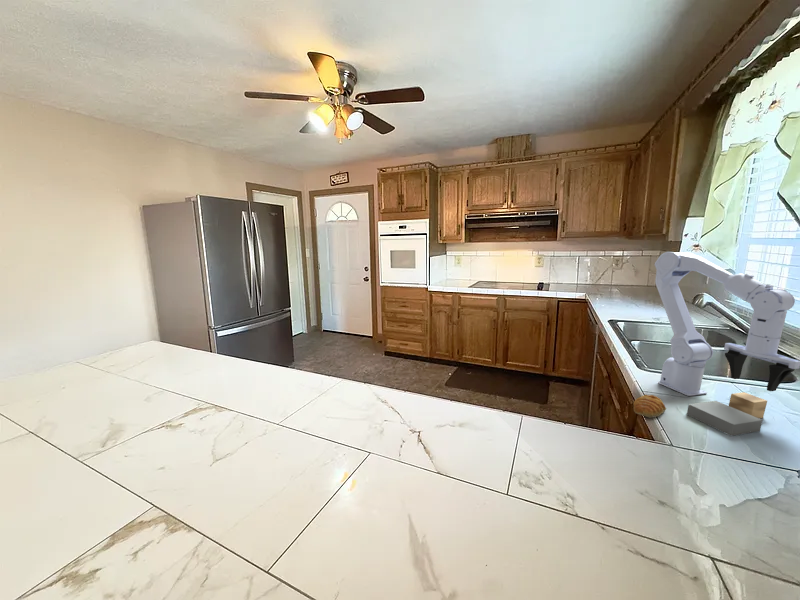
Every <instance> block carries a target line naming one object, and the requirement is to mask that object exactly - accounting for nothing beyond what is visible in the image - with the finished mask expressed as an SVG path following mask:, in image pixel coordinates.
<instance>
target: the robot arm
mask: <svg viewBox="0 0 800 600" xmlns="http://www.w3.org/2000/svg"><path fill="white" fill-rule="evenodd" d="M654 267H655V270H656V273H655V280H654V281H655V285H656V289H657V291H658V294H659V297H660V300H661V302H662V305H663V308H664V311H665V313H666V315H667V319H668V321H669V325H670V327H671V330H672V332H673V336H672V337H671V339H670V340H669V342H670V345H671V347H670V354H671V357H668V358H667V359H666V360H665V361H664V362H663V364H662V369H661V375H660V379H659V380H660V381H657V382H658V384H660V385H663V386H665V387H666V388H669V389H672V390H673V391H675V392H678V393H680V394H683V395H685V396H687V397H691V396H699V395H707V394H708V392H707V391H705V390H703V389H701V387H702V381H703V377H704V373H705V368H706V363H707V361H709V360H711V359H712V358H713V355H714V350H713V348H712V346H711V345H710V344H709V343H708V342H707V341H706V339H705V336H704V335H702V334H701V333H700V332H698V331H697V329H696V327H695V324H694V322H693V319H692V317H691V314H690V312H689V309H688V306H687V303H686V302H685V301H686V300H685V299H684V296H683V293H682V290H681V289H680V285H679V283H680V282H681V280H682V279H683V278H684V277H685V276H686V275H689V273H690V272H692V271H693V272H697V273H699V274H701V275H704V276H705V277H707V278H709V279H711V280H713V281H716V282H718V283H720V284H722V285H723V289H724V291H725V292H728V293H730V294H732V295H733V296H735V297H736V298H739V299H741V300H743V301H745V302H746V303H749V305H750V306H751V308H752V311H753V314H752V316H751V320H750V324H749V328H748V334H747V337H746V342H745V345H741V344H737V343H732V342H725V343H724V347H723V350H724V351H727V352H725V353H724V356H725V358H726V359H727V363H728V365H729V369H730V377H731V379H733V380H737V379H740V377H741V375H742V370H743V366H744V364H745V362H746V360H747V358H748V357H751V358H755V359H758V360H763V361H765V362H769V363H773V364H769V366H768V367H769V376H768V377H769V378H768V381H767V385H766V391H768V392H776V390H777V389H778V387H779V386H780V384H781V383H782V382H783V381H784V380H785V379H786V378H787V377H788V376H789V375H790V374H792V373H793V372H794V371H796V369H797V370H799V369H800V360H798V359H794V358H791V357H788V356H785V355H782V354H780V353H779V354H778V350H779V345H780V342H781V337H782V333H783V330H784V325H785V322H786V316H787V313H788V311H789V310H792V308H793V307H794V306H795V303H796V300H795V297H794V296H793V294H791V293H790V292H788V291H787V290H786V289H782V288H778V289H774V285H773V284H768V283H767V284H766V283H763V282H761V281H760V280H757V279H755V278H754V277H755V276H754V275H753V274H751V273H746V274H744V273H741V272H740V273H735V274H733V273H732V272H731V271H728V270H726V269H724V268H723V267H721V266H719V265H717V264H715V263H713V262H711V261H709V260H707V259H706V258H704V257H703V256H700V255H697V254H694V253H693V252H689V251H684V252H683V251H682V252H677V251H676V252H674V251H665V252H663V253H661V254H660V255H659V256H658V258H657V259H656V261H655V262H654Z"/></svg>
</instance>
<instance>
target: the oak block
mask: <svg viewBox="0 0 800 600" xmlns="http://www.w3.org/2000/svg"><path fill="white" fill-rule="evenodd" d="M767 403H768V400H767V399H763V398H761V397H759V396H756V395H753V394H750V393H747V392H743V391H742V392H734V393H731V394H730V398H729V402H728V406H730V407H732V408H735V409H737V410H740V411H742V412H744V413H747V414H749V415H752V416H754V417H757V418H759V419H763V418H764V416H765V411H766V408H767Z"/></svg>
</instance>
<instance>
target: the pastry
mask: <svg viewBox="0 0 800 600" xmlns="http://www.w3.org/2000/svg"><path fill="white" fill-rule="evenodd" d="M666 410H667V407H666V406H665V404H664V402H663V400H662V399H661V398H659V397H658V396H655V395H652V394H650V395H649V394H644V395H641V396H639V397H637V398H635V399H634V401H633V413H635V414H637V415H640V416H643V417H646V418H649V419H650V418H658V417H660V416H662V415H663V413H664V412H665V411H666Z"/></svg>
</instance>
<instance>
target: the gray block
mask: <svg viewBox="0 0 800 600" xmlns="http://www.w3.org/2000/svg"><path fill="white" fill-rule="evenodd" d="M686 411H687V412H686V415H687V416H689V417H691V418H693V419H695V420H698V421H699V422H702V423H703V424H705V425H708V426H710V427H712V428H714V429H716V430H718V431H720V432H722V433H724V434H726V435H729V436H730V437H732V436H738V435H745V434H752V433H757V432H760V431H761V429H762V424H763V422H764V420H763V419H762V418H757V417H754V416H752V415H749V414H747V413H744V412H742V411H740V410H737V409H735V408H732V407H730V406H729V405H728V404H724V403H722V402H720V401H718V400H713V401H710V400H709V401H702V402H696V403H688V406H687V410H686Z"/></svg>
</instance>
